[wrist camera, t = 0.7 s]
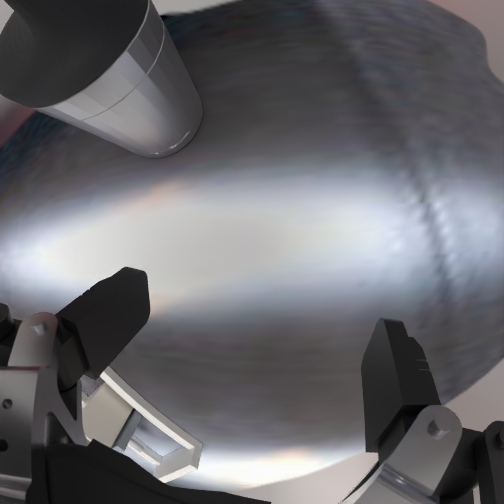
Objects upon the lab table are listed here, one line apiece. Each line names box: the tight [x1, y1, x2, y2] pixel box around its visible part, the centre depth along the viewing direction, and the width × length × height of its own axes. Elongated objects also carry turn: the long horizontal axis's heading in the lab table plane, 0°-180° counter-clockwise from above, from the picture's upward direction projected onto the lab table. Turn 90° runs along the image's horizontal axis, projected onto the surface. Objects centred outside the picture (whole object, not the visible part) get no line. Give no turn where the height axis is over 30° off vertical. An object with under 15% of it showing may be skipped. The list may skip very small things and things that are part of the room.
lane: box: [82, 366, 203, 483], centre depth 29 cm, size 22×9×5 cm, turn 43°
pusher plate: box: [111, 409, 144, 453], centre depth 27 cm, size 4×6×8 cm, turn 132°
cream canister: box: [82, 382, 134, 448], centre depth 26 cm, size 5×5×11 cm
